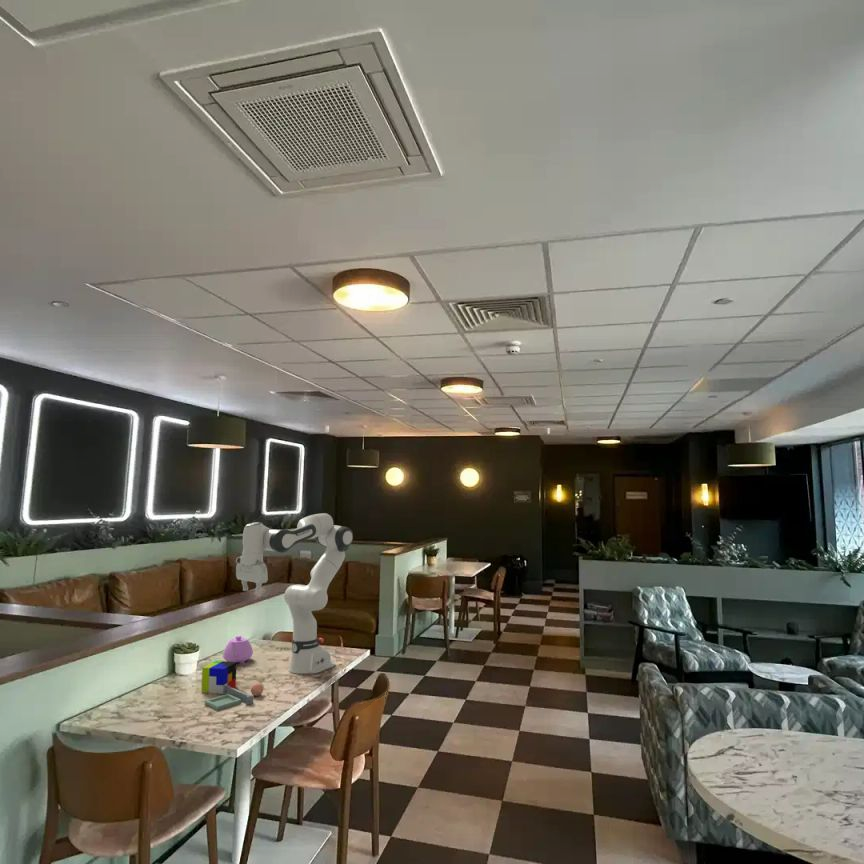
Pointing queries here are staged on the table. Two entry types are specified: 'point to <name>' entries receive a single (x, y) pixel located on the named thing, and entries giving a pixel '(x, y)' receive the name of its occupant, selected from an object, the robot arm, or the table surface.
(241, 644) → the teapot
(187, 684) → the table surface
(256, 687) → the ball
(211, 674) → the puzzle toy
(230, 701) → the dish
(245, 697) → the bar with end supports
